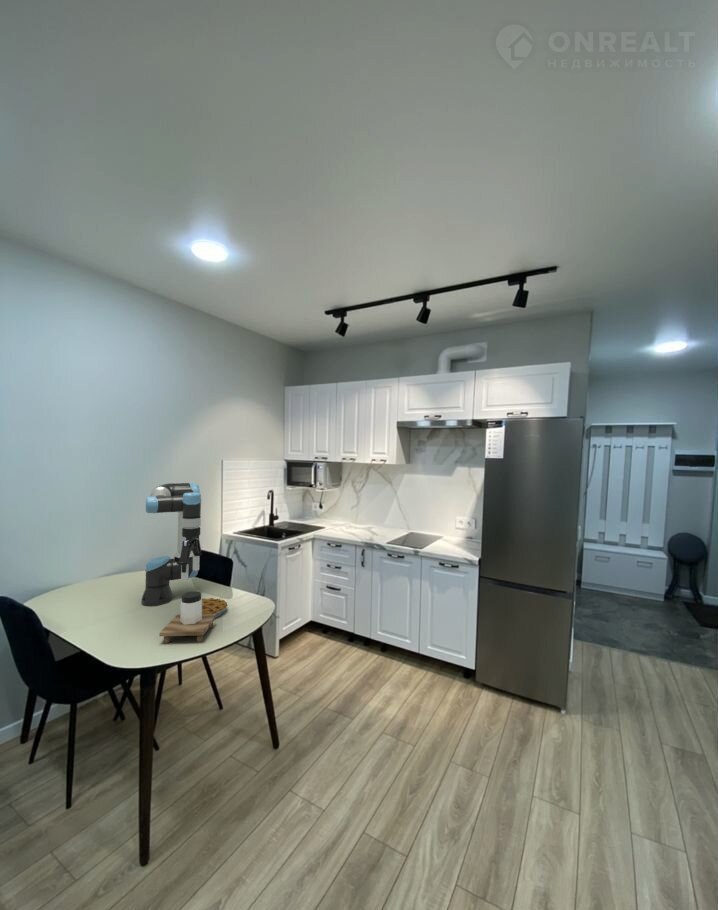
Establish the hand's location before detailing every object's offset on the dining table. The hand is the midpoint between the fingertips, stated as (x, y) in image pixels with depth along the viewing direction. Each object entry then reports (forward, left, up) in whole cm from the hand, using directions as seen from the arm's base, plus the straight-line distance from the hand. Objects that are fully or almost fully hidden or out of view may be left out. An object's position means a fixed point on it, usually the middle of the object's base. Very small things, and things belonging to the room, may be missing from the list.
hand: (190, 574), depth 166 cm
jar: (-2, 0, -22) cm, 22 cm away
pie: (-22, -1, -27) cm, 35 cm away
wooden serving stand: (0, 0, -26) cm, 27 cm away
